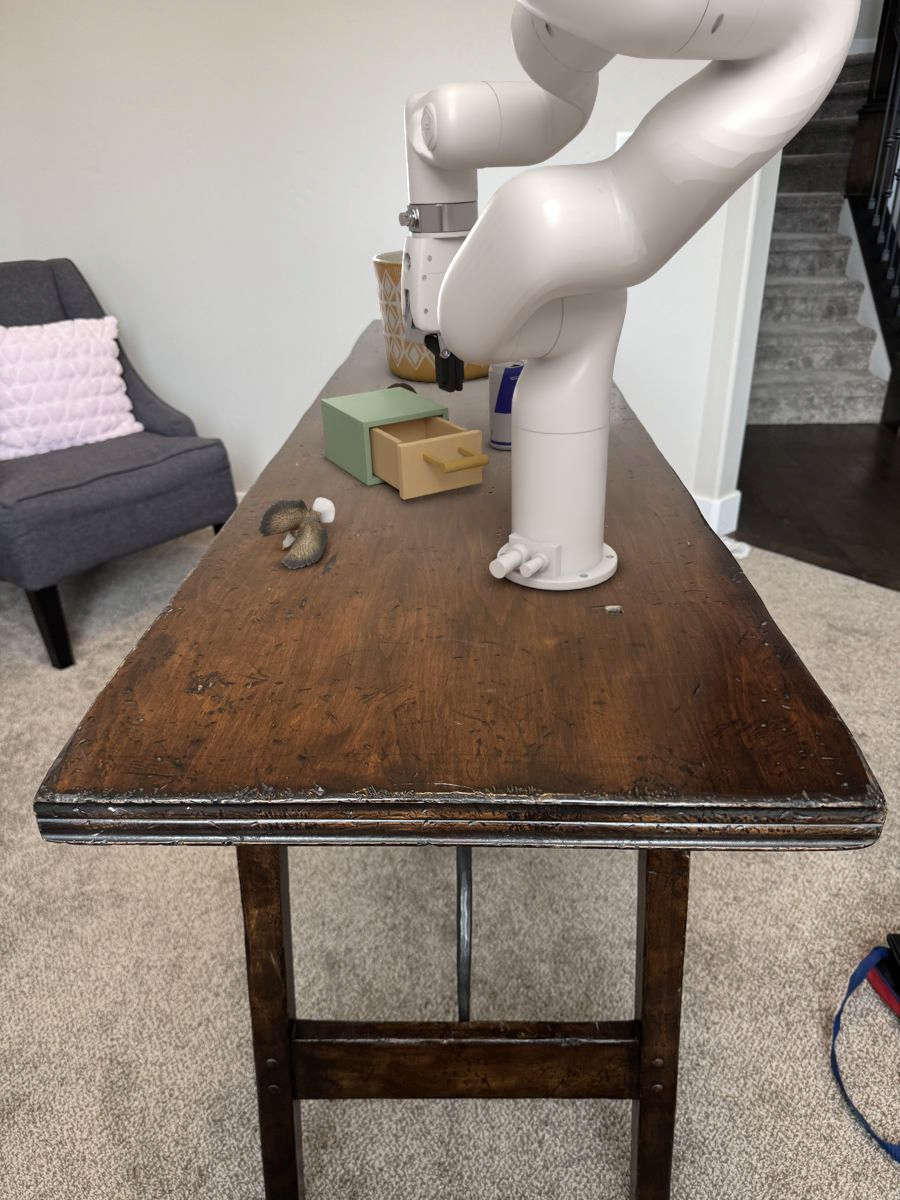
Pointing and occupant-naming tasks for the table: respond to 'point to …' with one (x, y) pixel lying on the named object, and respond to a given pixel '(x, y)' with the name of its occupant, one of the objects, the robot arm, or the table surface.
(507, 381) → the energy drink
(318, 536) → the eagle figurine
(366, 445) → the cabinet
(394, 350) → the planter
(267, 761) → the table surface
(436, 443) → the drawer
